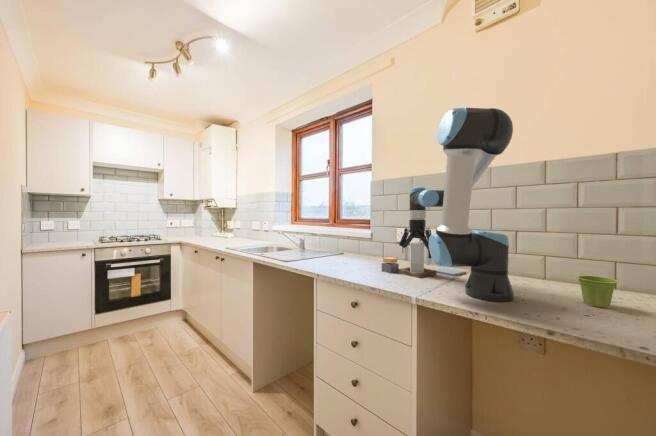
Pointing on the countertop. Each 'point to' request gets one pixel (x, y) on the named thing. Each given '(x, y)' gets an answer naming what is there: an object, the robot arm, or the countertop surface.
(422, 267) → the skincare box
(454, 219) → the robot arm
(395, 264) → the block
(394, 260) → the plunger
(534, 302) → the countertop surface
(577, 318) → the countertop surface
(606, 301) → the plant pot
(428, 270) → the walnut dock
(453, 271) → the rubber pad
